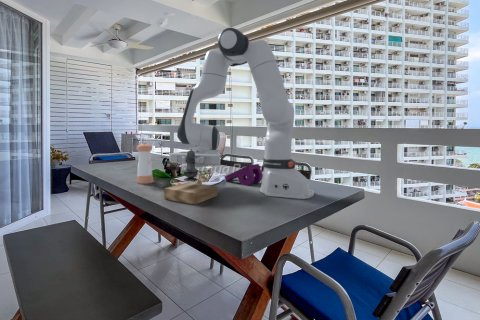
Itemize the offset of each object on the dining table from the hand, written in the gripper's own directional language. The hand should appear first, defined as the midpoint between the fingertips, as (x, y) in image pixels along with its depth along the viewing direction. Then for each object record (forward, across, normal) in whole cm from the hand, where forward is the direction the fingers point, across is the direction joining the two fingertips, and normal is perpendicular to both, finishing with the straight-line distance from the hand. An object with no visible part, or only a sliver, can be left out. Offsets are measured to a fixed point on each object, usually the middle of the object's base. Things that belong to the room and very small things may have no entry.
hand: (190, 160), depth 101 cm
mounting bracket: (-34, +16, +15) cm, 41 cm away
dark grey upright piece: (-1, 0, +8) cm, 8 cm away
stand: (-1, 0, +14) cm, 14 cm away
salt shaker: (-25, -30, +15) cm, 42 cm away
